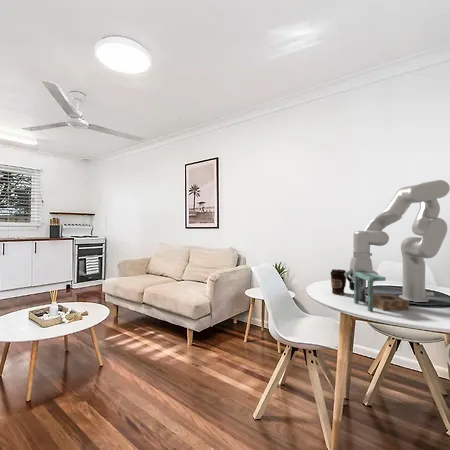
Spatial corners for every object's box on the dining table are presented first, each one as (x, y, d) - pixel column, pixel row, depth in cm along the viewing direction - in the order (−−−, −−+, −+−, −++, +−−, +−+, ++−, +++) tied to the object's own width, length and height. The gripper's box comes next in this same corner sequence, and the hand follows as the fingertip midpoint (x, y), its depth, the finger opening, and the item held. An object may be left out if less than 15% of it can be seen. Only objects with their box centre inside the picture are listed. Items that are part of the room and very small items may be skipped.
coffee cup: (341, 296, 151) (341, 272, 151) (327, 293, 157) (327, 270, 157) (349, 293, 157) (349, 270, 156) (335, 290, 163) (335, 268, 163)
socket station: (390, 301, 141) (390, 271, 141) (409, 310, 128) (409, 276, 128) (353, 302, 139) (353, 272, 139) (369, 311, 126) (369, 277, 126)
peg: (362, 299, 145) (363, 275, 145) (367, 301, 141) (367, 277, 141) (355, 299, 145) (355, 276, 145) (359, 301, 141) (359, 277, 141)
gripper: (373, 254, 147) (373, 287, 148) (341, 254, 146) (340, 288, 146) (382, 256, 140) (382, 291, 140) (348, 256, 138) (348, 292, 139)
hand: (361, 289), depth 143 cm, fingers open, 9 cm apart
